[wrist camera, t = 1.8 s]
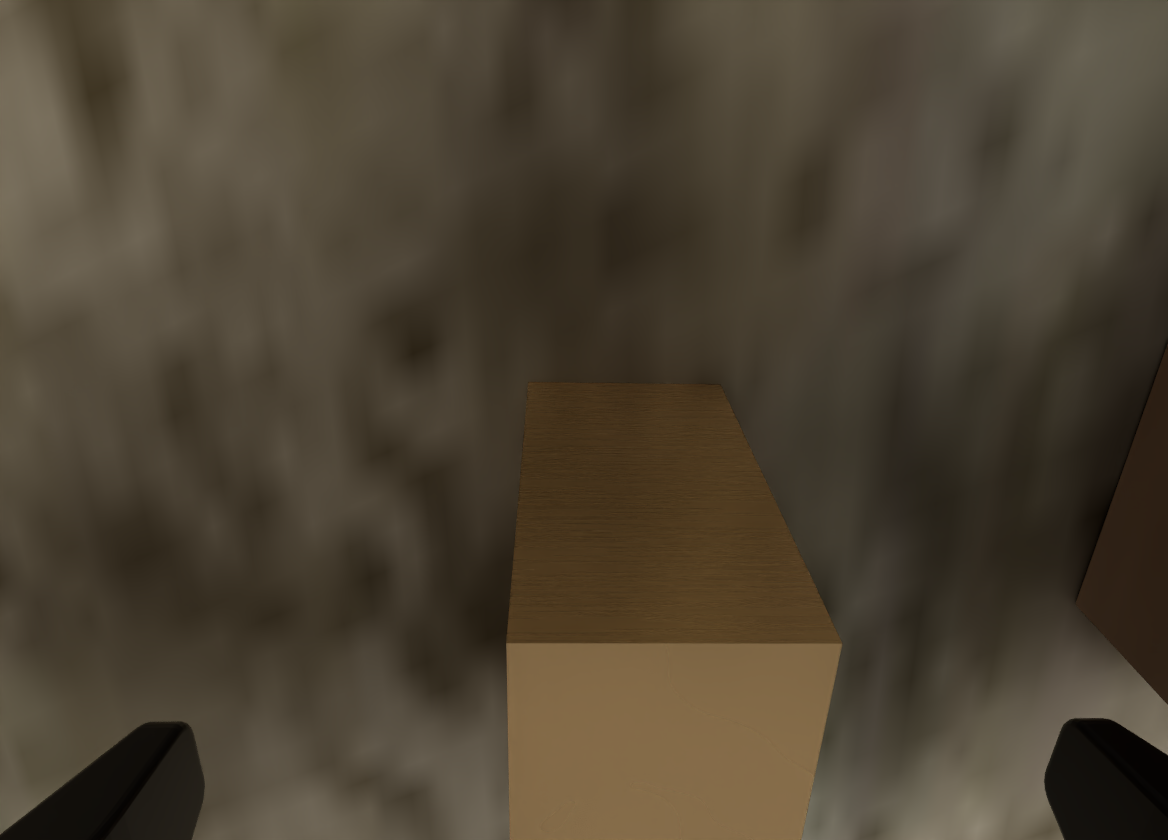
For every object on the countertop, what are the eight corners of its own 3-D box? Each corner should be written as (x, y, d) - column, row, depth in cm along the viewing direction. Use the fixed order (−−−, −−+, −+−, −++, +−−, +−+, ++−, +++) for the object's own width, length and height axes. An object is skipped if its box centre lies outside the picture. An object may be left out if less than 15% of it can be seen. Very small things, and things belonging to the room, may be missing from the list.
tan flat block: (529, 677, 13) (512, 1036, 8) (528, 380, 10) (506, 643, 6) (688, 676, 13) (760, 1031, 8) (720, 383, 11) (842, 643, 6)
